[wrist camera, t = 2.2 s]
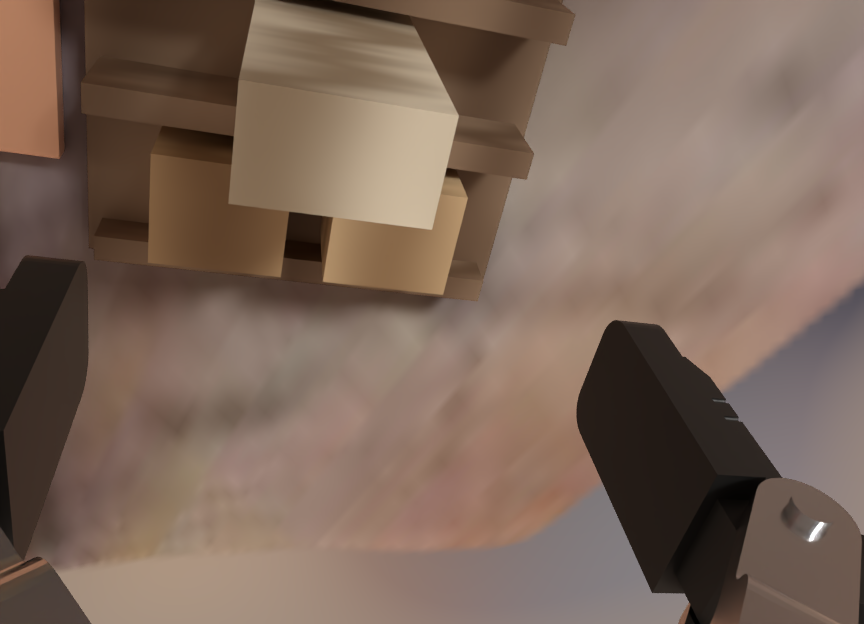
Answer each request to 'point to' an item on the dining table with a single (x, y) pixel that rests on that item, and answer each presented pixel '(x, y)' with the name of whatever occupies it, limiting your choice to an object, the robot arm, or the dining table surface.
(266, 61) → the long beige rectangular prism
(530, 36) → the rack
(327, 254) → the offcut
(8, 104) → the tile
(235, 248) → the offcut
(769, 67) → the dining table surface
